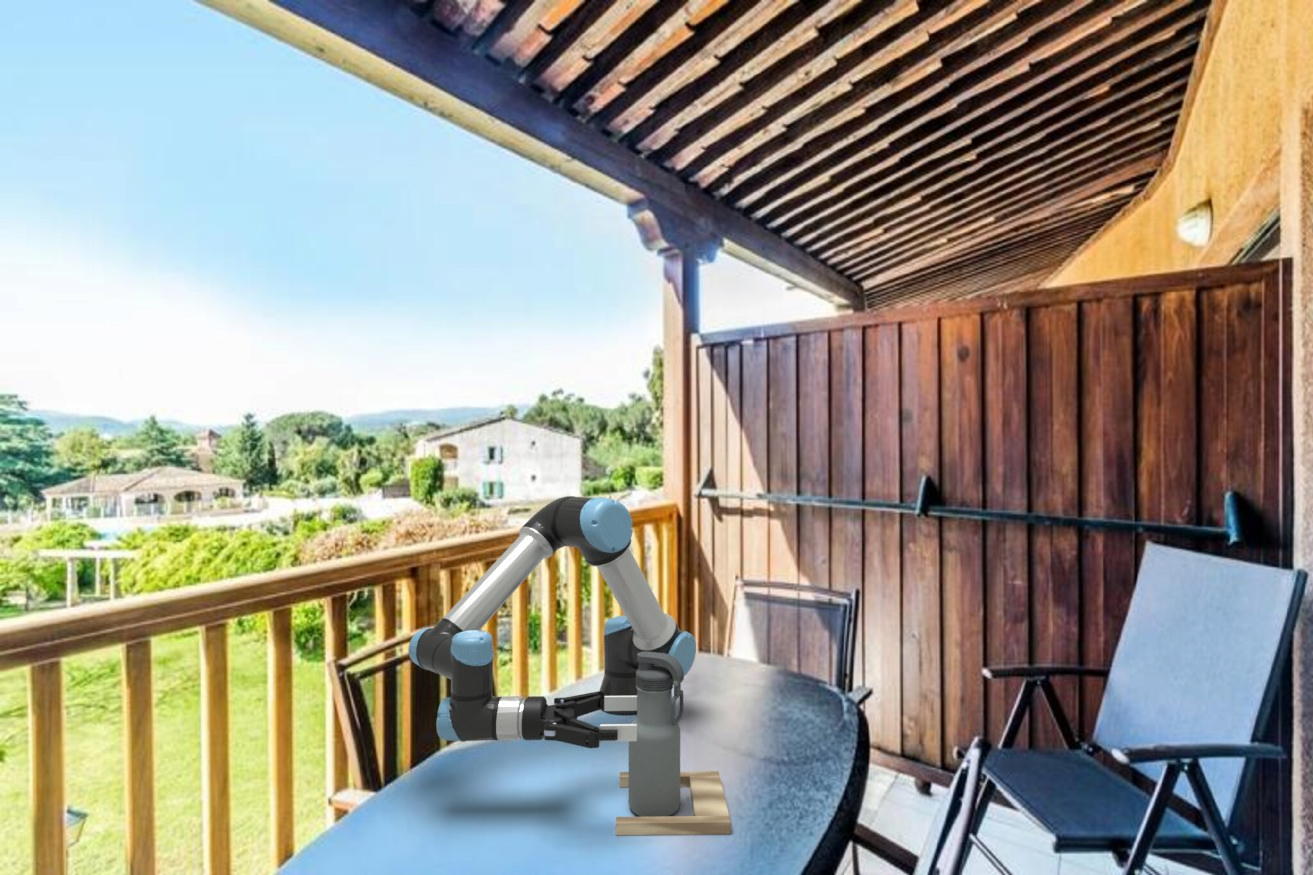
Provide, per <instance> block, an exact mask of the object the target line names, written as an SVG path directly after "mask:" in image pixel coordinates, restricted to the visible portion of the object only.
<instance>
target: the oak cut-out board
mask: <svg viewBox="0 0 1313 875" xmlns="http://www.w3.org/2000/svg"><path fill="white" fill-rule="evenodd" d="M680 786H690V787H689V791H690V797H691V799H692V800H691V805H692V806H693V807H692V806H691V807H692V814H693V815H691V816H690V815H688V816H687V815H680V816H679V815H676V816H674V815H673V816H671V815H670V816H661V817H641V816H616V817H615V836H666V835H667V836H674V835H678V836H679V835H683V836H685V835H732V834H731V833H732V832H731V829H732V828H731V823H732V822H731V816H730V813H729V809H728V806H727V801H726V796H725V793H724V792H725V791H724V788H723V784H722V780H721V776H720V772H719V771H718V770H711V771H709V770H708V771H705V770H703V771H700V770H698V771H689V770H688V771H680ZM619 788H629V771H620V772H619Z"/></svg>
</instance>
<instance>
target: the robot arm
mask: <svg viewBox="0 0 1313 875" xmlns="http://www.w3.org/2000/svg"><path fill="white" fill-rule="evenodd" d="M632 526H633V519H632V516H631V513H630V512H629V510H628V508H627V507H626V505H624V504H623V503H622V502H620V501H618V500H616V499H612V498H611V499H610V498H607V497H603V496H600V497H599V496H598V497H589V496H586V497H585V496H584V497H582V496H571V495H568V496H562V497H558V498H557V499H554V500H553V501H551V502H549V503H547V504H546V505H545V506H543V507H542V508H541V509H539V510H538V511H537V512H536V513H535V514H534V515H532V516H531V517H530V518H529V519H528V521H526V523H525V524H523V525H522V527H520V529H519V531H518V532H519V534H518V535H519V536H518V537H517V538H516V540H514V541H513V543H512V544H511V545H510V546H509V547H508V548H507V549H506V550H505V551H504V552H503V553H502V554H501V556H499V557H498V559H496V561H495V562H494V563H493V564H492V565H491V566H490V567H489V568H488V569H487V570H486V571H485V573H483V575H482V576H480V578H479V579H478V580H477V581H476V582H474V584H473V585H472V586H471V587H470V588H469V590H468V591H467V592H466V593H465V594H464V595H463V596H462V597H461V598H460V599H459V600H458V601H457V602H456V604H454V606H452V608H450V610H449V611H448V612H447V613H446V614H445V615H444V616H443V617H442V618H441V619H440V621H439V622H438V623H437V624H436V625H434V627H425V628H422V629H420V630H418V631H417V632H416V633H414V635H413V636H412V638H411V639H410V641H409V644H408V649H407V650H408V651H407V652H408V656H409V659H410V660H411V662H412V663H414V664H415V665H417V666H418V667H420V668H421V669H423V670H425V671H429V672H432V673H435V674H438V675H440V676H442V677H444V678H446V679H449V680H450V696H448V697H445V698H443V699H442V700H441V701H440V703H439V706H438V710H437V717H436V724H435V725H436V726H435V727H436V733H437V735H438V737H439V738H440V739H441V740H443V741H450V742H451V741H453V742H461V743H464V742H474V741H476V742H478V741H481V742H482V741H505V743H510V742H511V741H520V739H523V740H524V741H541V740H543V739H544V741H555V742H559V743H560V742H561V743H565V744H568V745H569V744H570V745H575V746H578V747H582V748H587V749H598V748H600V742H603V743H604V742H605V743H606V742H608V743H609V742H629V741H637V724H631V723H608V724H607V723H602V724H599V727H598V726H596V725H594V724H591V723H588V722H585V721H583V720H580V719H578V717H582V716H585V715H588V714H591V713H594V712H597V711H600V710H601V711H604V712H606V713H609V714H613V715H635V714H636V715H637V689H636V671H637V670H638V668H639V662H638V661H637V654H638V653H639V652H656V653H665V654H669V655H671V656H673V657H674V658H676V659H677V660H678V661H679V663H680V664H681V666H682V668H683V671H684V677H686V675H687V674H689V672H690V671H691V669H692V667H693V664H694V662H695V658H696V654H697V642H696V639H695V636H694V635H693V634H692V633H690V632H688V631H685V630H683V631H682V630H681V629H680V628H679V625H678V624H677V621H676V620H675V618H674V617H673V616H672V615H670V614H668V613H664V610H663V609H662V606H661V605H660V603H659V601H658V599H657V598H656V596H655V593H654V592H653V590H652V588H651V587H650V584H649V582H648V581H647V579H646V577H645V575H644V573H643V572H642V569H641V567H640V566H639V564H638V562H637V560H636V559H635V556H634V555H633V553H632V550H631V549H630V547H631V544H632V536H633V532H634V530H633V529H632ZM564 547H571V548H577V549H578V550H579V551H580V553H581V555H582V557H583V558H584V560H585V562H586V563H587V564H588V565H589V566H591V567H597V569H598V571H599V573H600V574H601V576H602V578H603V580H604V581H605V583H606V584H607V587H608V588H609V590H610V592H611V594H612V595H613V597H614V599H615V601H616V603H617V604H618V606H619V608H620V610H621V611H622V613H623V615H617V616H614V617H611V618H608V619H607V620H606V622H605V624H604V633H603V650H604V652H603V654H604V655H603V656H604V658H603V659H604V661H603V662H604V663H603V664H604V665H603V666H604V670H603V671H604V672H603V673H604V675H603V679H602V681H601V685H600V686H599V687H600V689H599V691H598V690H597V691H592V692H587V693H583V694H577V695H570V696H567V697H566V696H565V697H555V698H554V699H553V704H551V705H549V704H548V702H547V698H546V696H542V695H541V696H527V697H526V698H524V697H523V696H522V695H519V696H511V695H510V696H508V695H507V696H493V672H494V656H495V654H494V653H495V652H494V646H493V636H492V635H491V633H490V632H488V631H486V630H482V629H483V628H484V627H485V626H486V624H487V623H488V622H489V621H490V619H492V617H493V616H494V615H495V614H496V613H497V612H498V610H499V609H500V608H502V606H503V605H504V604H505V603H506V601H507V600H509V598H510V597H511V596H512V595H513V594H514V592H516V591H517V589H518V588H519V587H520V585H522V584H523V582H524V581H525V580H526V579H527V578H528V577H529V576H530V574H531V573H533V571H534V570H535V569H536V568H537V566H538V565H539V564H540V563H541V562H542V561H543V560H544V559H550V558H551V557H552V556H553V555H554V553H556V552H557V551H558V550H559V549H562V548H564ZM654 665H658V664H654Z"/></svg>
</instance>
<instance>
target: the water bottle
mask: <svg viewBox="0 0 1313 875" xmlns="http://www.w3.org/2000/svg"><path fill="white" fill-rule="evenodd" d="M637 661H638V662H639V668H638V670H637V671H636V689H637V714H636V716H637V717H636V718H635V719H633V721H631V723H630V724H637V741H628V772H629V787H628V801H627V802H628V807H629V808H630V810H631V811H632V812H633V813H634V814H636V815H637V816H638V817H661V816H671V815H673V814H675V813H676V812H677V811H678V810H679V808H680V806H681V787H680V772H681V728H680V724H679V722H680V721H681V720H682V718H683V716H684V690H683V689H681V688H682V687H681V686H682V683H683V681H684V679H685V676H684V671H683V668H682V666H681V664H680V663H679V661H678V660H677V659H676V658H674V657H673V656H671V655H669V654H665V653H656V652H639V653H638V654H637ZM654 664H658V665H654ZM672 690H673V694H672ZM672 695H673V696H672ZM678 698H679V711H678V715H677V716H676V704H677V703H676V702H677V700H678Z"/></svg>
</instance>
